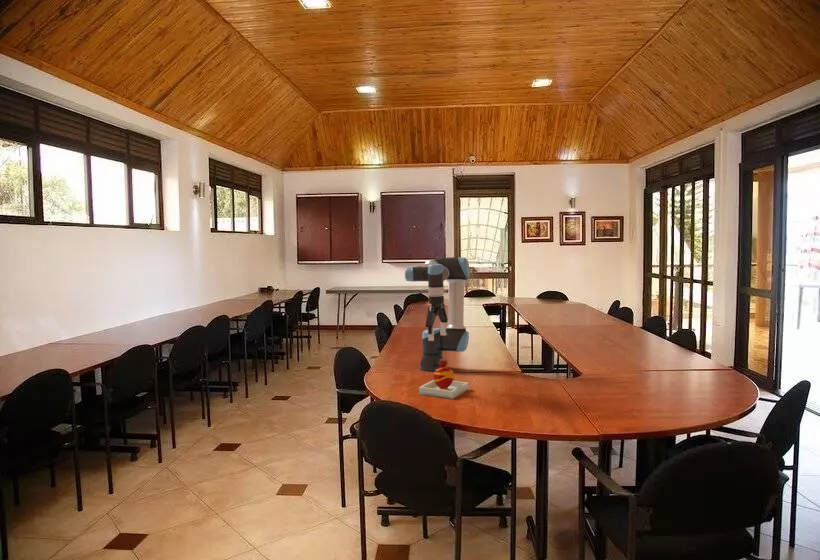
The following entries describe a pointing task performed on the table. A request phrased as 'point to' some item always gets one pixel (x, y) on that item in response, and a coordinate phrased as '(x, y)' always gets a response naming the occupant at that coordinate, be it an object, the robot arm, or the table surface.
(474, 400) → the table surface
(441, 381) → the potion bottle
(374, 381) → the table surface
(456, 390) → the bin
